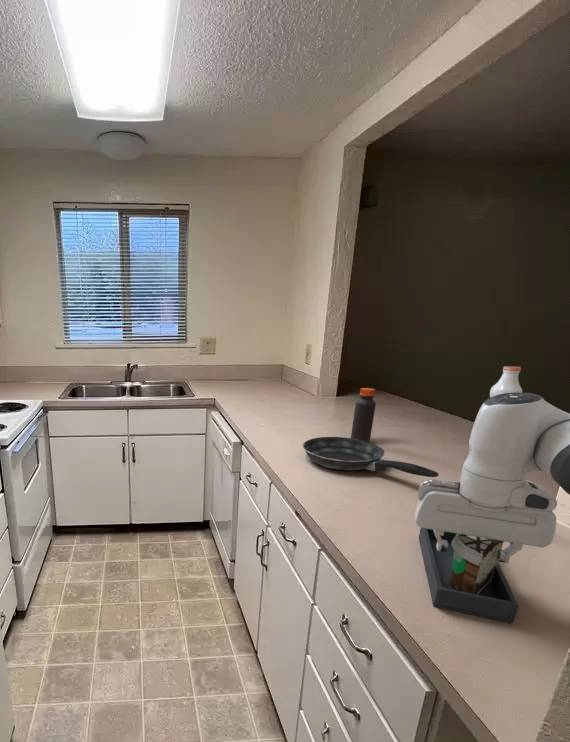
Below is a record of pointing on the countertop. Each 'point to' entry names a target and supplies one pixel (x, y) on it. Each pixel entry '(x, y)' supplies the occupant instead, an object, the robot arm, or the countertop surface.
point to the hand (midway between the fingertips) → (470, 555)
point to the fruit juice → (507, 382)
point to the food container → (473, 562)
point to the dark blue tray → (487, 604)
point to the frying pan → (356, 456)
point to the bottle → (364, 415)
